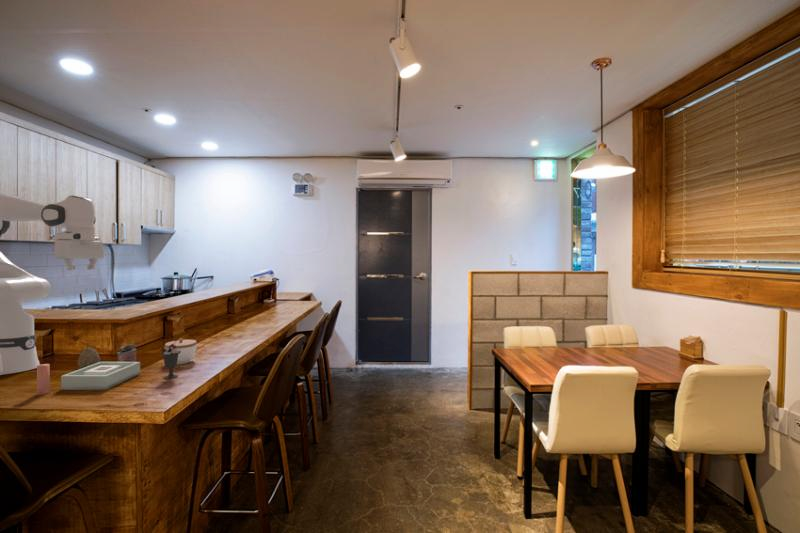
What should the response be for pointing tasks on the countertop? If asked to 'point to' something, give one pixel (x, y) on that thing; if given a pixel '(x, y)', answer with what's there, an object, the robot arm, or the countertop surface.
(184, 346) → the lidded bowl
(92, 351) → the decorative egg
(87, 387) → the box
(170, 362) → the sundae
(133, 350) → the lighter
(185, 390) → the countertop surface
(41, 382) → the dowel
